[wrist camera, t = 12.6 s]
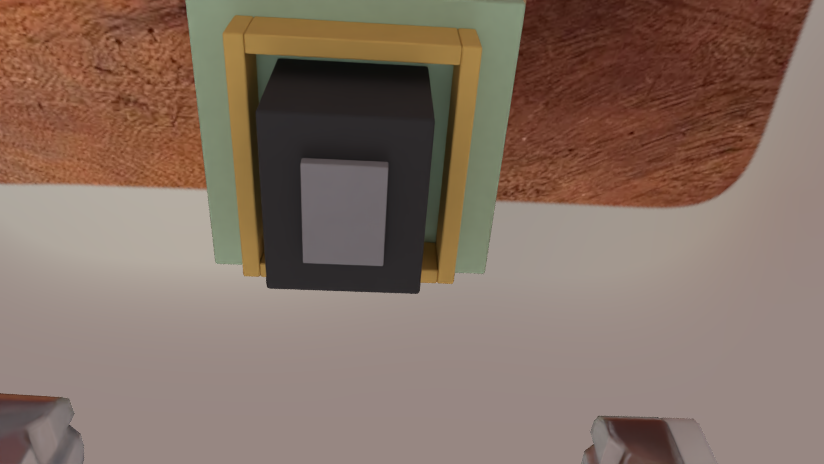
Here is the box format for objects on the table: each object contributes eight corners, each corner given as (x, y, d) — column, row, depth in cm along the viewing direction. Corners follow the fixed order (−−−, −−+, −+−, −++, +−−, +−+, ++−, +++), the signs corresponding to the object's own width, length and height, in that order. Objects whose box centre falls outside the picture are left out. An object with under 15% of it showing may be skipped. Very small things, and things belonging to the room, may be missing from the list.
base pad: (520, -7, 18) (536, 20, 16) (481, 256, 23) (490, 304, 21) (192, -27, 18) (165, -2, 16) (221, 246, 22) (203, 294, 20)
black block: (428, 65, 18) (436, 125, 15) (415, 223, 21) (420, 302, 18) (277, 57, 18) (252, 116, 15) (283, 218, 21) (264, 296, 17)
